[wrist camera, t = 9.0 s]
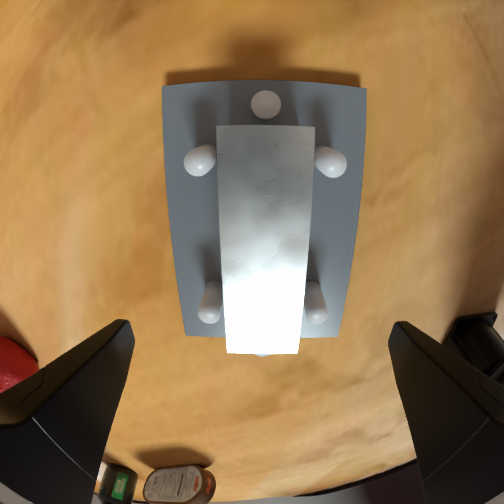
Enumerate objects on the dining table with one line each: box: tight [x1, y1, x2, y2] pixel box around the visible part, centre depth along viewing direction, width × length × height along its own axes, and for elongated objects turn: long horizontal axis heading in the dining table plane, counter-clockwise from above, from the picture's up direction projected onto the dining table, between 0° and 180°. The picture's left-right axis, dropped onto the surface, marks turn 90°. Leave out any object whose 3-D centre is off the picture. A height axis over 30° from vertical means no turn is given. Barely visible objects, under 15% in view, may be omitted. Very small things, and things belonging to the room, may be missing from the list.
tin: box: [142, 465, 216, 504], centre depth 33 cm, size 15×3×8 cm, turn 125°
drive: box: [216, 125, 315, 353], centre depth 16 cm, size 4×12×5 cm, turn 0°
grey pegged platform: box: [162, 80, 366, 356], centre depth 17 cm, size 12×18×4 cm, turn 0°
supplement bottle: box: [97, 464, 138, 504], centre depth 36 cm, size 7×7×12 cm
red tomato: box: [0, 336, 39, 393], centre depth 23 cm, size 10×10×9 cm
